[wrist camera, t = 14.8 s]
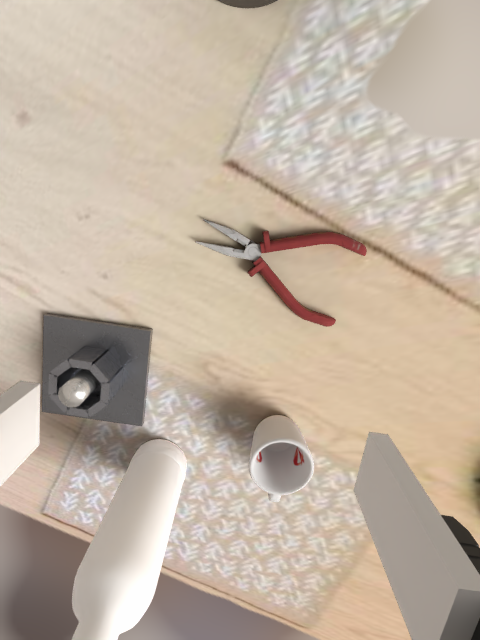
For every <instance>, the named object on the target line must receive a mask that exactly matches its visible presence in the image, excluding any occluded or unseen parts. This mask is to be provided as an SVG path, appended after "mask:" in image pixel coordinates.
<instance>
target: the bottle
mask: <svg viewBox="0 0 480 640" xmlns="http://www.w3.org/2000/svg"><path fill="white" fill-rule="evenodd" d="M186 468H187V459H186V457H185V455H184V452H183V451H182V450H181V449H180V448H179V447H178V446H177V445H176V444H174V443H172V442H170V441H168V440H162V439H155V440H150V441H148V442H146V443H144V444H142V445H141V446H140V447H139V448H138V450H137V451H136V453H135V455H134V456H133V457H132V459H131V461H130V464H129V467H128V469H127V471H126V473H125V475H124V477H123V479H122V481H121V483H120V485H119V487H118V489H117V491H116V493H115V495H114V497H113V499H112V501H111V503H110V505H109V508H108V510H107V512H106V514H105V516H104V518H103V520H102V522H101V524H100V526H99V528H98V530H97V532H96V534H95V536H94V538H93V540H92V542H91V544H90V546H89V548H88V550H87V552H86V554H85V556H84V558H83V560H82V562H81V564H80V566H79V568H78V571H77V574H76V577H75V581H74V587H73V595H72V596H73V597H72V605H73V611H74V613H75V615H76V617H77V619H78V620H79V624H78V626H77V628H76V631H75V633H74V635H73V638H72V640H117V639H118V636H119V634H120V633H123V632H125V631H127V630H129V629H131V628H132V627H133V626H134V625H135V624H136V623H137V622H139V620H140V619H141V617H142V616H143V614H144V613H145V611H146V610H147V608H148V606H149V605H150V603H151V601H152V598H153V596H154V593H155V590H156V585H157V581H158V578H159V574H160V570H161V566H162V562H163V558H164V554H165V550H166V547H167V543H168V539H169V535H170V531H171V527H172V523H173V519H174V515H175V511H176V507H177V504H178V500H179V496H180V492H181V488H182V484H183V482H184V479H185V475H186Z"/></svg>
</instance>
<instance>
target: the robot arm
mask: <svg viewBox="0 0 480 640" xmlns="http://www.w3.org/2000/svg"><path fill="white" fill-rule="evenodd" d="M219 1H221V2H223V3H225V4H228V5H231V6H234V7H240V8H256V7H261V6H265V5H268V4H271V3H273V2H275V1H277V0H219ZM39 432H40V384H39V383H33V382H26V381H20V382H18V383H17V384H15V385H14V386H13V387H11V388H10V389H8V390H7V391H5V392H4V393H2V394H1V395H0V486H1V485H2V484H3V483H4V482H5V481H6V480H7V479H8V478H9V477H10V476H11V474H12V473H13V472H14V471H15V470H16V469H17V468H18V467H19V466H20V465H21V464H22V463H23V462H24V461H25V460H26V459H27V457H28V456H29V455H30V454H31V453H32V452H33V451H34V450H35V449H36V448H37V447H38V446H39ZM354 492H355V495H356V498H357V500H358V503H359V505H360V508H361V510H362V513H363V515H364V518H365V521H366V523H367V526H368V528H369V531H370V533H371V536H372V539H373V541H374V544H375V546H376V549H377V551H378V554H379V557H380V559H381V562H382V564H383V567H384V569H385V572H386V574H387V577H388V580H389V582H390V585H391V587H392V590H393V592H394V595H395V598H396V600H397V603H398V605H399V608H400V610H401V613H402V616H403V618H404V621H405V623H406V626H407V628H408V631H409V634H410V636H411V639H412V640H480V548H479V545H478V544H477V542H476V541H475V539H474V538H473V537H472V535H471V534H470V532H469V531H468V530H467V529H466V528H465V527H464V526H463V525H461V524H460V523H459V522H458V521H457V520H456V519H455V518H454V517H451V516H444V515H440V513H439V512H438V510H437V509H436V507H435V506H434V504H433V503H432V501H431V499H430V498H429V496H428V495H427V493H426V492H425V490H424V489H423V487H422V486H421V484H420V483H419V481H418V480H417V478H416V477H415V475H414V473H413V472H412V470H411V469H410V467H409V466H408V464H407V463H406V461H405V460H404V458H403V457H402V455H401V454H400V452H399V451H398V449H397V447H396V446H395V444H394V443H393V441H392V440H391V438H390V437H389V435H388V434H381V433H374V432H369V434H368V438H367V442H366V445H365V449H364V453H363V457H362V461H361V464H360V468H359V472H358V476H357V480H356V483H355V487H354Z"/></svg>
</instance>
